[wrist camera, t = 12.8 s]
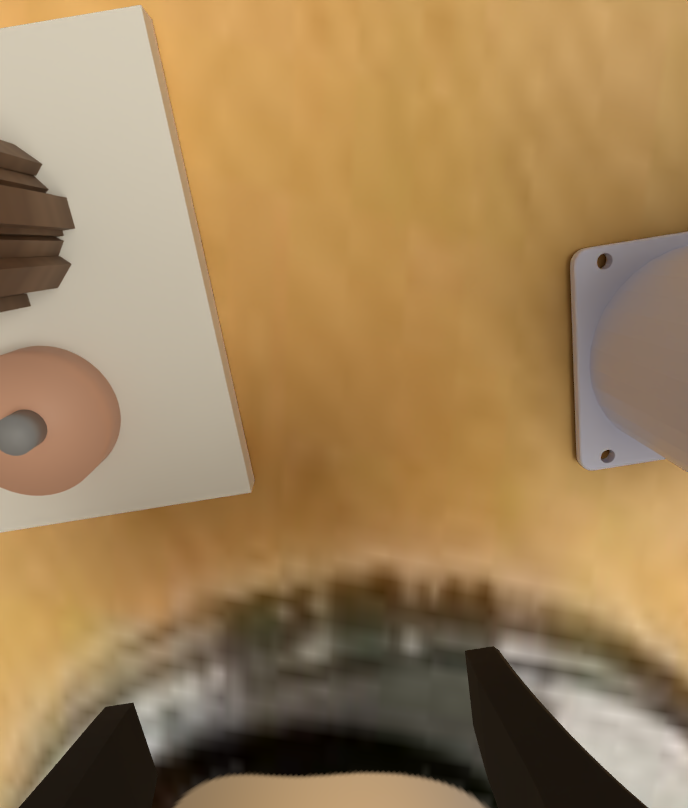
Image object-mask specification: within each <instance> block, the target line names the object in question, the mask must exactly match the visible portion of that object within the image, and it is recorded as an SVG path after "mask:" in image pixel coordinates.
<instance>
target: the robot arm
mask: <svg viewBox="0 0 688 808" xmlns="http://www.w3.org/2000/svg"><path fill="white" fill-rule="evenodd" d="M601 254H604V255H605V256H606V258H607V261H606V264H605V266H604V267H603V268H599V267H598V265H597V259H598V257H599V256H600V255H601ZM570 278H571V308H572V337H573V366H574V396H575V425H576V454H577V461H578V463H579V464H580V465H581V466H582V467H583V468H585V469H587V470H600V469H606V468H613V467H619V466H625V465H632V464H638V463H644V462H650V461H657V460H663V459H667V460H669V461H670V462H672V463H674V464H675V465H677V466H679V467H680V468H682V469H683V470H685V471H687V472H688V231H686V232H680V233H674V234H668V235H662V236H655V237H649V238H643V239H637V240H631V241H625V242H619V243H612V244H606V245H600V246H594V247H588V248H583V249H581V250H578V251H577V252H576V253H575V254H574V255H573V257H572V259H571V263H570ZM606 450H609V451H610V452H609V455H608V456H607V457H606V458H604V459H601V454H602V453H603V452H604V451H606ZM465 655H466V664H467V673H468V682H469V691H470V700H471V709H472V718H473V726H474V730H475V734H476V737H477V741H478V745H479V748H480V752H481V756H482V759H483V763H484V767H485V770H486V774H487V777H488V780H489V783H490V786H491V789H492V791H493V794H494V797H495V799H496V802H497V805H498V807H499V808H648V807H647V806H645V805H644V804H643V803H642V802H641V801H640V800H639V799H637V798H636V797H635V796H634V795H633V794H632V793H631V792H629V791H628V790H627V789H626V788H625V787H624V786H623V785H622V784H621V783H619V782H618V781H617V780H616V779H615V778H614V777H613V776H612V775H611V774H610V773H609V772H608V771H607V770H605V769H604V768H603V767H602V766H601V765H600V764H599V763H598V762H597V761H596V760H595V759H594V758H593V757H592V756H591V755H590V754H589V753H588V752H587V751H586V750H585V749H584V748H583V747H582V746H581V745H580V744H579V743H578V742H577V741H576V740H575V739H574V738H573V737H572V736H571V735H570V734H569V733H568V732H567V731H566V730H565V728H564V727H563V726H562V725H561V724H560V723H559V722H558V721H557V720H556V719H555V718H554V717H553V715H552V714H551V713H550V712H549V711H548V710H547V709H546V708H545V707H544V706H543V705H542V703H541V702H540V701H539V700H538V699H537V698H536V697H535V695H534V694H533V693H532V692H531V691H530V689H529V688H528V687H527V686H526V685H525V684H524V682H523V681H522V680H521V679H520V677H519V676H518V675H517V674H516V672H515V671H514V670H513V669H512V667H511V666H510V665H509V663H508V662H507V661H506V659H505V658H504V657H503V655H502V654H501V653H500V651H499V650H498V649H496V648H495V647H494V646H493V647H486V648H480V649H473V650H467V651H465ZM157 775H158V774H157V771H156V768H155V765H154V762H153V760H152V757H151V754H150V751H149V748H148V745H147V742H146V739H145V736H144V733H143V730H142V727H141V724H140V721H139V718H138V715H137V712H136V709H135V706H134V703H128V704H122V705H115V706H109V707H105V708H104V709H103V710H102V712H101V713H100V714H99V715H98V716H97V717H96V718H95V719H94V721H93V722H92V723H91V724H90V725H89V726H88V728H87V729H86V730H85V731H84V732H83V733H82V735H81V736H80V737H79V738H78V739H77V741H76V742H75V743H74V744H73V745H72V747H71V748H70V749H69V750H68V751H67V752H66V754H65V755H64V756H63V757H62V758H61V760H60V761H59V762H58V763H57V764H56V765H55V767H54V768H53V769H52V770H51V771H50V772H49V773H48V775H47V776H46V777H45V778H44V779H43V780H42V782H41V783H40V784H39V785H38V786H37V787H36V788H35V790H34V791H33V792H32V793H31V794H30V795H29V797H28V798H27V799H26V800H25V801H24V802H23V803H22V805H21V806H20V807H19V808H151V807H152V802H153V796H154V791H155V786H156V780H157Z"/></svg>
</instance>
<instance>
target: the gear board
mask: <svg viewBox="0 0 688 808" xmlns="http://www.w3.org/2000/svg"><path fill="white" fill-rule="evenodd" d="M0 140H3V141H6V142H9V143H12V144H15V145H16V146H17V147H19V148H20V149H22V150H23V151H25V152H26V153H27V154H29V155H30V156H32V157H33V158H35V159H36V160H37V161H39V162H40V163H42V166H41V168H40V170H39V172H38V173H37V175H36V176H35V175H34V176H35V177H36V178H37V179H38V180H39V181H40V182H41V183H42V184H43V185H45V186H46V187H47V188H48V189H49V190H48V191H47V192H46V193H47V194H52V195H56V196H61V197H66V198H67V201H68V205H69V208H70V212H71V215H72V218H73V222H74V225H75V229H69V230H63V234H64V236H59V237H57V238H59V239H61V240H63V241H64V242H63V245H62V248H61V251H60V253H59V256H61V257H62V258H64V259H65V260H67V261H68V262H70V263H71V264H72V265H71V266H70V268H69V270H68V271H67V273H66V275H65V277H64V278H63V280H62V282H61V284H60V285H59V287H58V288H54V289H48V290H42V291H35V292H29V293H24V294H27V295H28V298H29V301H30V305H31V306H29V307H24V308H20V309H15V310H10V311H5V312H0V532H7V531H13V530H19V529H25V528H32V527H38V526H44V525H51V524H57V523H63V522H69V521H76V520H82V519H88V518H94V517H101V516H107V515H113V514H120V513H126V512H132V511H138V510H145V509H151V508H157V507H163V506H170V505H176V504H182V503H188V502H195V501H201V500H207V499H214V498H220V497H226V496H232V495H239V494H245V493H251V492H252V488H253V485H254V481H255V480H254V475H253V471H252V466H251V462H250V457H249V453H248V448H247V444H246V439H245V435H244V430H243V426H242V421H241V417H240V412H239V408H238V403H237V399H236V395H235V390H234V386H233V381H232V377H231V372H230V368H229V363H228V359H227V354H226V350H225V345H224V341H223V336H222V332H221V327H220V323H219V318H218V314H217V309H216V305H215V300H214V296H213V291H212V287H211V282H210V278H209V273H208V269H207V264H206V260H205V255H204V251H203V247H202V242H201V238H200V233H199V229H198V224H197V220H196V215H195V211H194V206H193V202H192V197H191V193H190V188H189V184H188V179H187V175H186V170H185V166H184V161H183V157H182V152H181V148H180V143H179V139H178V134H177V130H176V125H175V121H174V116H173V112H172V107H171V103H170V99H169V94H168V90H167V85H166V81H165V76H164V72H163V67H162V63H161V58H160V54H159V49H158V45H157V40H156V36H155V31H154V27H153V22H152V19H151V18H150V16H149V15H148V14H147V12H146V11H145V10H144V8H143V7H142V6H141V5H137V6H131V7H125V8H119V9H113V10H108V11H102V12H96V13H90V14H84V15H78V16H72V17H66V18H60V19H54V20H48V21H42V22H36V23H30V24H24V25H18V26H12V27H6V28H0Z"/></svg>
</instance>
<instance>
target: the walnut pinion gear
mask: <svg viewBox="0 0 688 808" xmlns="http://www.w3.org/2000/svg"><path fill="white" fill-rule="evenodd" d="M41 166H42V163H40V162H39V161H37V160H36V159H35V158H33V157H32V156H30V155H29V154H27V153H26V152H25V151H23V150H22V149H20V148H19V147H17V146H16V145H15V144H12V143H9V142H6V141H3V140H0V312H5V311H10V310H15V309H20V308H24V307H29V306H31V305H30V301H29V298H28V295H27V294H24V293H29V292H35V291H42V290H48V289H54V288H58V287H59V285H60V284H61V282H62V280H63V278H64V277H65V275H66V273H67V271H68V270H69V268H70V266H71V265H72V264H71V263H70V262H68V261H67V260H65V259H64V258H62V257H61V256H59V253H60V251H61V248H62V245H63V242H64V241H63V240H61V239H59V238H57V237H59V236H64V234H63V230H69V229H75V225H74V222H73V218H72V215H71V212H70V208H69V205H68V201H67V198H66V197H61V196H56V195H52V194H47V193H46V192H47V191H48V190H49V189H48V188H47V187H46V186H45V185H43V184H42V183H41V182H40V181H39V180H38V179H37V178H36V177H35V176H36V175H37V173H38V172H39V170H40V168H41ZM34 175H35V176H34Z"/></svg>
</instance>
